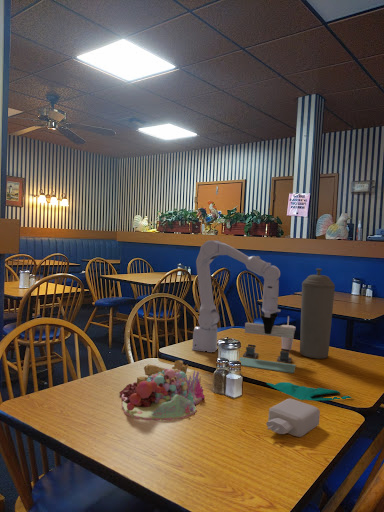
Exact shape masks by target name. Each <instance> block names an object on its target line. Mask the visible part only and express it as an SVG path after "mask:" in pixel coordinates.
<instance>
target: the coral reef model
mask: <svg viewBox="0 0 384 512" xmlns="http://www.w3.org/2000/svg"><path fill="white" fill-rule="evenodd" d="M173 365H174V366H172V367H171V368H163V367H161V366H157V365H154V364H150V363H149V364H147V365H145V366H144V367H143V370H144V375H145V376H138V377H137V378H136V381H134V382H132V383H128V384H127V385H125V387H124V388H123V389H121V391H119V395H120V397H121V400H122V401H121V408H122V410H123V412H124V414H125V415H126V416H129V417H131V418H135V419H139V420H145V421H146V420H147V421H151V420H152V421H173V420H181V419H185V418H187V417H190V416H191V415H195V413H196V412H197V406H195V405H197V404H199V403H200V402H202V401H203V400H204V399H205V395H204V389H203V385H202V384H201V381H202V376H201V375H200V373H199V371H197V372H196V371H195V369H194V370H193V373H192V376H191V375H189V378H188V375H187V371H188V367H189V364H184V361H183V360H181V359H180V360H175V361H174V364H173Z"/></svg>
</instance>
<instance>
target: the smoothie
mask: <svg viewBox="0 0 384 512" xmlns="http://www.w3.org/2000/svg"><path fill="white" fill-rule="evenodd" d="M289 324H290V316H289V315H288V316H287V324H282V325H280V326H285V327H293V338H286V337H280V338H281V349H289V351H288V352H290V351H292V347H293V342H294V336H295V331H296V330H297V329H296V326H294V325H291V324H290V325H289Z"/></svg>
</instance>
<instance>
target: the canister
mask: <svg viewBox="0 0 384 512" xmlns="http://www.w3.org/2000/svg"><path fill="white" fill-rule="evenodd" d="M315 271H317V272H316V274H310V275H308V276H307V277H306V279H304V280H303V281H302V283H301V303H300V305H301V306H300V307H301V310H300V333H299V334H300V340H299V341H300V342H299V353H300V355H302V356H304V357H306V358H309V359H318V360H322V359H327V358H328V357H329V354H330V353H329V351H330V342H331V341H330V339H331V330H332V329H331V328H332V319H333V308H334V299H335V298H334V297H335V288H336V286H335V283H334V282H333V281H332V280H331V278H330V277H329V276H328V275H323V274H321V272H322V271H323V269H322V268H316V269H315Z"/></svg>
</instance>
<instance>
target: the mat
mask: <svg viewBox="0 0 384 512" xmlns="http://www.w3.org/2000/svg"><path fill="white" fill-rule="evenodd" d="M239 357H240V359H239V360H240V361H241V365H242V367H245V368H246V367H247V368H255V369H262V370H266V371H267V370H268V371H273V372H281V373H282V372H283V373H288V374H295V371H296V364H294V363H293V364H291V363H286V362H279V361H271V360H270V361H269V360H263V359H257V358H250V357H243V356H239Z"/></svg>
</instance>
